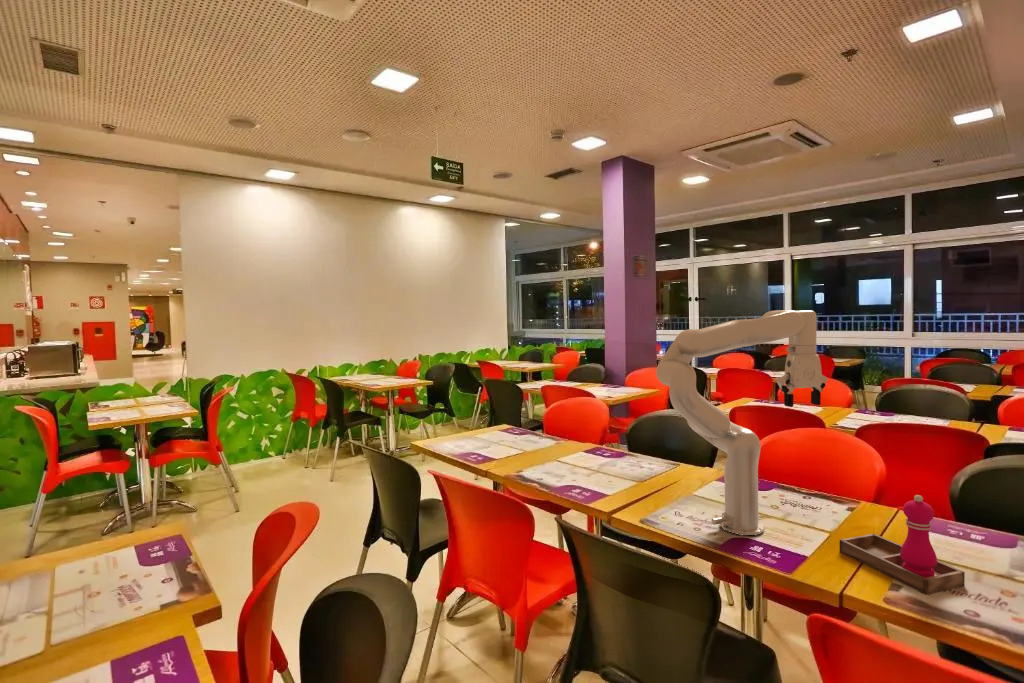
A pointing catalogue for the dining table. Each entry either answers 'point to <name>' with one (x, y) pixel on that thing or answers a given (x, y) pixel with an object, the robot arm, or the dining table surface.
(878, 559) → the caddy
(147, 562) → the dining table surface
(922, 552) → the pepper mill
